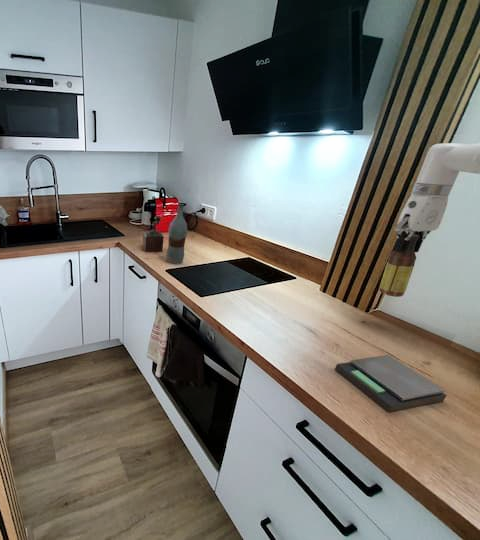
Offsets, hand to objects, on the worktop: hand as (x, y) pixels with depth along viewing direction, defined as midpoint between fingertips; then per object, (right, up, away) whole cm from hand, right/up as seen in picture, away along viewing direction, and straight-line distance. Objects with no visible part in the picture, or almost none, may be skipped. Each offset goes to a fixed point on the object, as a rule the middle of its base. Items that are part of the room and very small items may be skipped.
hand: (405, 250), depth 88 cm
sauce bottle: (+1, -14, +6) cm, 15 cm away
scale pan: (-18, -33, -15) cm, 41 cm away
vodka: (-60, -2, +62) cm, 86 cm away
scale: (-20, -36, -15) cm, 43 cm away
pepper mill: (-69, +7, +82) cm, 108 cm away
